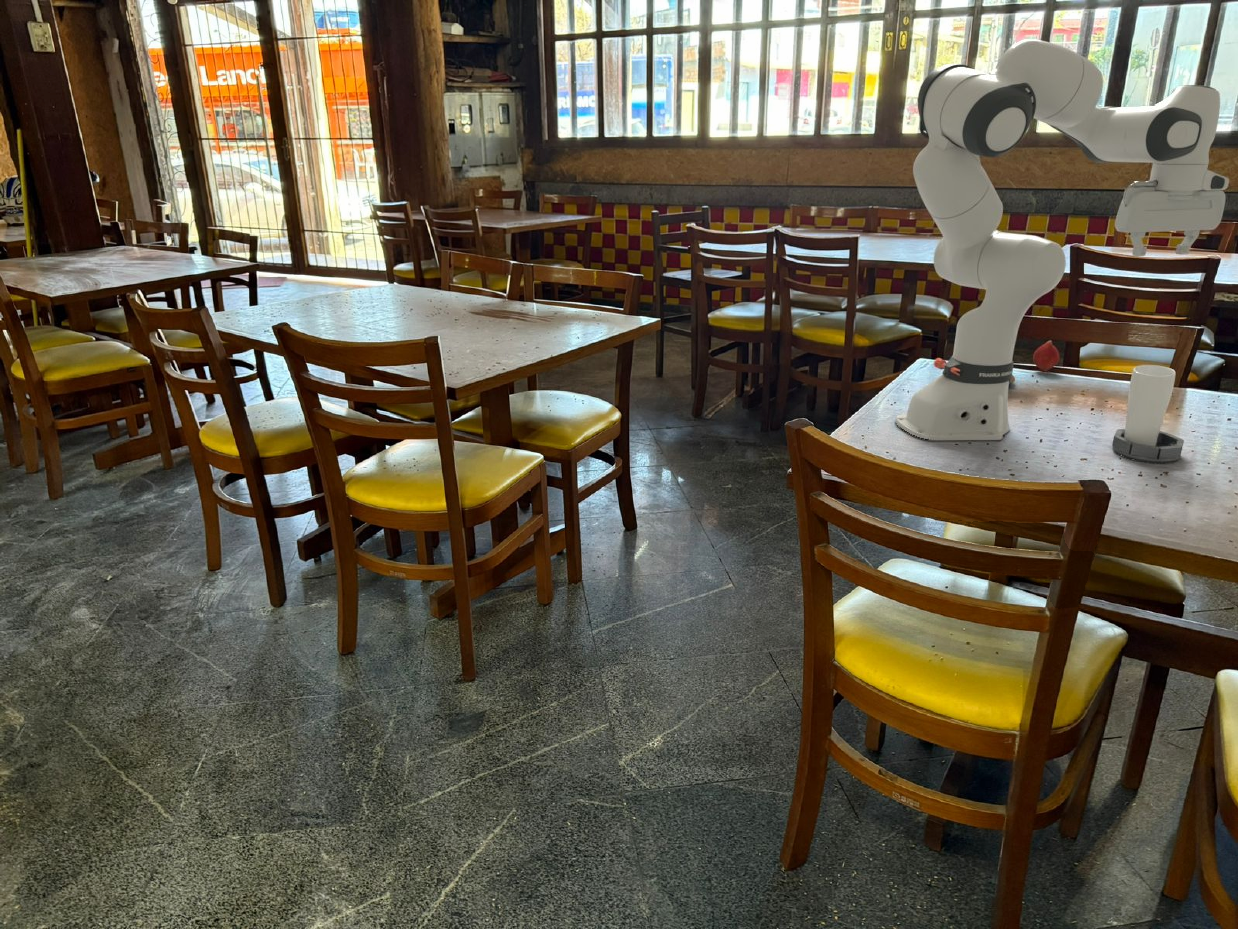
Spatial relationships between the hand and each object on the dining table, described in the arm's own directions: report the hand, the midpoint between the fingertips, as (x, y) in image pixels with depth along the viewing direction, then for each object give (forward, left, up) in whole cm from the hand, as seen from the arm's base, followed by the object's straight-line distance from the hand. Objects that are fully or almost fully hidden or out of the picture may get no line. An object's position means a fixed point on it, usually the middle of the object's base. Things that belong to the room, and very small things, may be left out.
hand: (1160, 255), depth 163 cm
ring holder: (-9, -17, -34) cm, 39 cm away
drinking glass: (-10, -16, -33) cm, 38 cm away
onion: (+8, +38, -34) cm, 52 cm away
